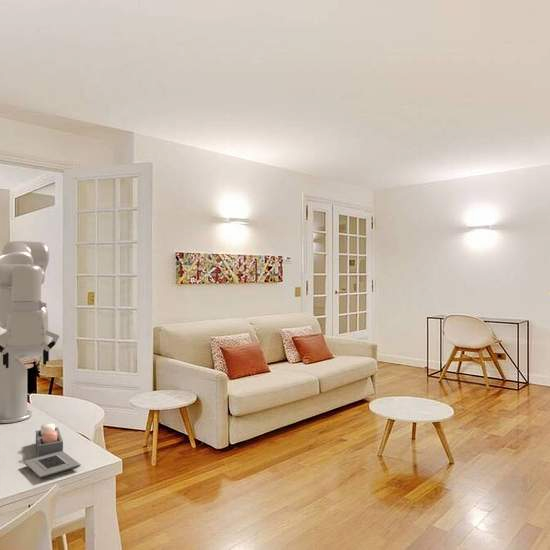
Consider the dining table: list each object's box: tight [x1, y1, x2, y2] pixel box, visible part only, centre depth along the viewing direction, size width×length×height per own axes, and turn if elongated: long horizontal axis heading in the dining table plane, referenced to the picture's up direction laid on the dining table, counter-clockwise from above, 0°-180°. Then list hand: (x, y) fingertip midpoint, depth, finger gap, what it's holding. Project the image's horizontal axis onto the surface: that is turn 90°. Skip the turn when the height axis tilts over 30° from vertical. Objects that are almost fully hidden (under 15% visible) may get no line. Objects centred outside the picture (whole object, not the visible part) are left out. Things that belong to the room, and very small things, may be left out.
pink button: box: [43, 430, 57, 444], centre depth 138 cm, size 4×4×4 cm
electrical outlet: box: [23, 450, 81, 480], centre depth 127 cm, size 13×10×2 cm
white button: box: [40, 423, 56, 436], centre depth 144 cm, size 4×4×4 cm
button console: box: [35, 427, 64, 457], centre depth 141 cm, size 14×6×4 cm, turn 31°
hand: (26, 365), depth 133 cm, fingers open, 9 cm apart
